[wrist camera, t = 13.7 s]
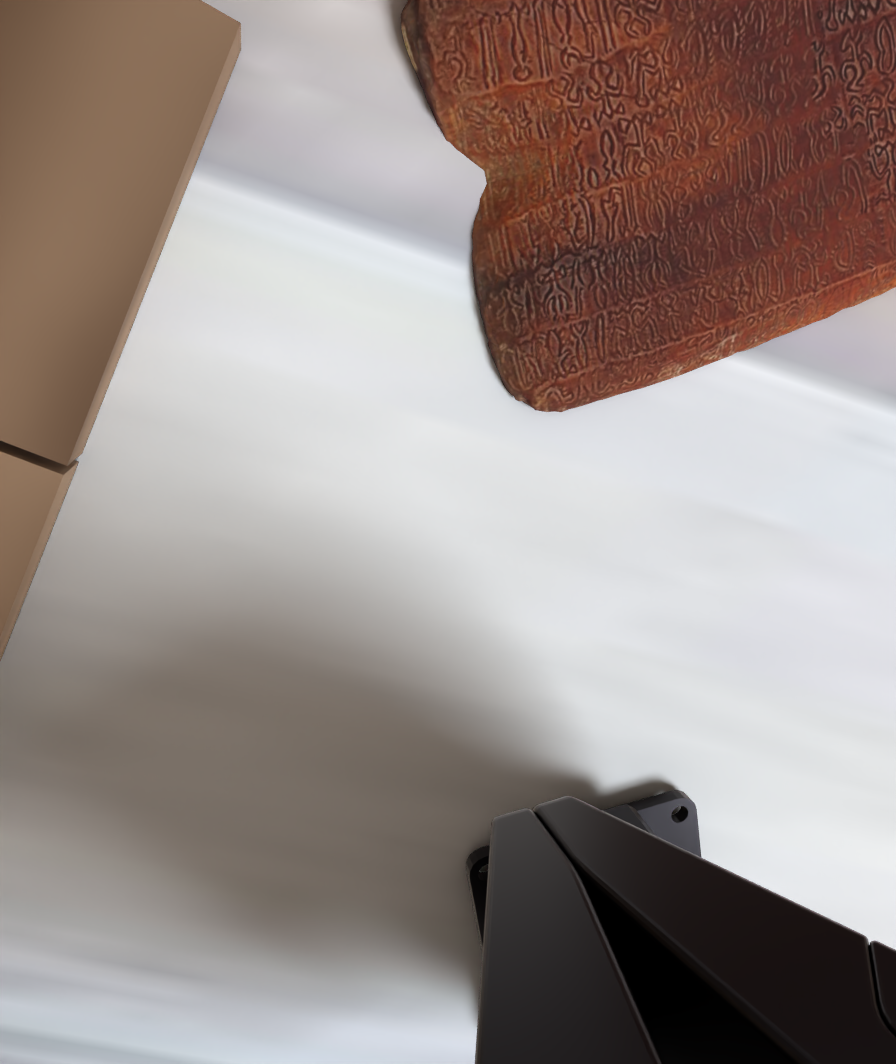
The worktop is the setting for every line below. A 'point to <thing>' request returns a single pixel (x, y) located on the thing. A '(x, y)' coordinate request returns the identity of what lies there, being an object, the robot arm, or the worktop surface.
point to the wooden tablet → (663, 175)
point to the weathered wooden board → (85, 222)
